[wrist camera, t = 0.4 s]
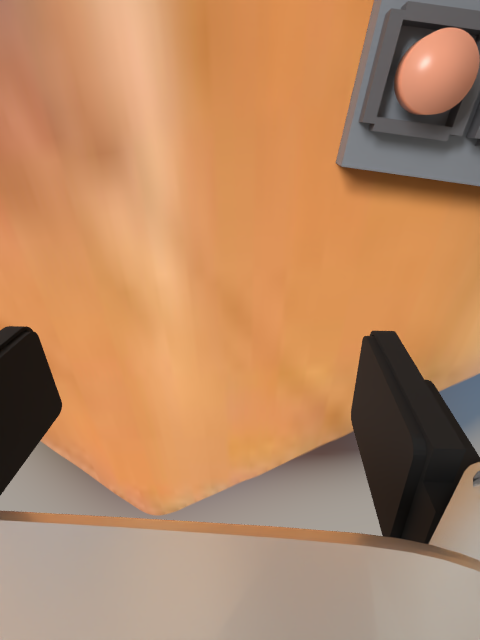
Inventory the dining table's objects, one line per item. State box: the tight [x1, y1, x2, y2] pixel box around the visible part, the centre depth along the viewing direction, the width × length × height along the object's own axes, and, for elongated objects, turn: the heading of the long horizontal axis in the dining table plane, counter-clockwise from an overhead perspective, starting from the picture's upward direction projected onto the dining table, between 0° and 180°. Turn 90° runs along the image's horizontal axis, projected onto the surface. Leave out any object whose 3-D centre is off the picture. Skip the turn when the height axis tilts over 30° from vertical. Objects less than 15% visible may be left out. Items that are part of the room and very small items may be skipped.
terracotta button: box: [394, 27, 479, 115], centre depth 26 cm, size 5×5×2 cm
